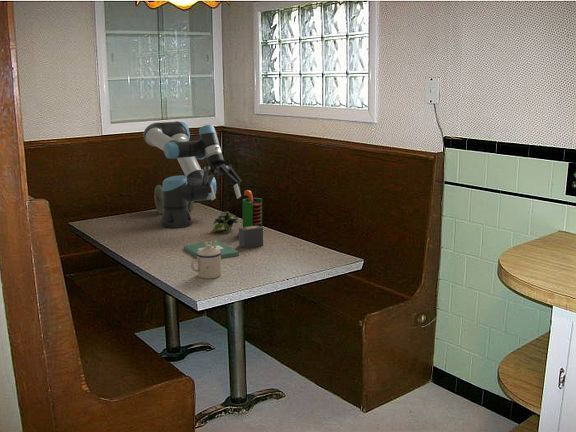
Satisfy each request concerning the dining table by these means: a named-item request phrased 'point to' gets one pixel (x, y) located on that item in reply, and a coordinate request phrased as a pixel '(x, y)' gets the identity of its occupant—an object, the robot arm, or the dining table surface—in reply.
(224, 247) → the header board
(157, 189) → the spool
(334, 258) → the dining table surface
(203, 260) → the teacup with lid
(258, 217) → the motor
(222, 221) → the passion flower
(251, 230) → the plug housing
